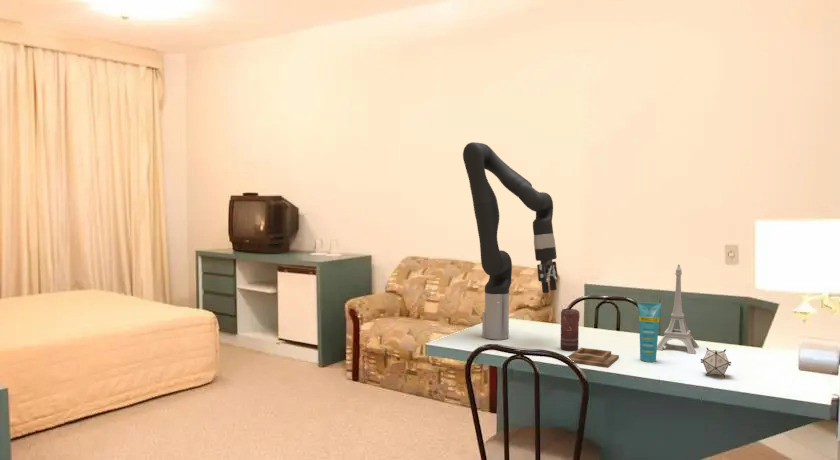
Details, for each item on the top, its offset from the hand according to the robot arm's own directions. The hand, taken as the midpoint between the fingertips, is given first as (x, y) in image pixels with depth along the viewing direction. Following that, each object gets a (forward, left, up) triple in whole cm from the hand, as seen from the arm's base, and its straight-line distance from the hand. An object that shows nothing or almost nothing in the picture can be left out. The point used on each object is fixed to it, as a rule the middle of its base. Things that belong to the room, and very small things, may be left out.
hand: (549, 291), depth 229 cm
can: (+8, -2, -20) cm, 22 cm away
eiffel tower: (+40, +20, -20) cm, 49 cm away
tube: (+35, -4, -20) cm, 41 cm away
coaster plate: (+19, -13, -20) cm, 31 cm away
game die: (+56, -12, -20) cm, 61 cm away
